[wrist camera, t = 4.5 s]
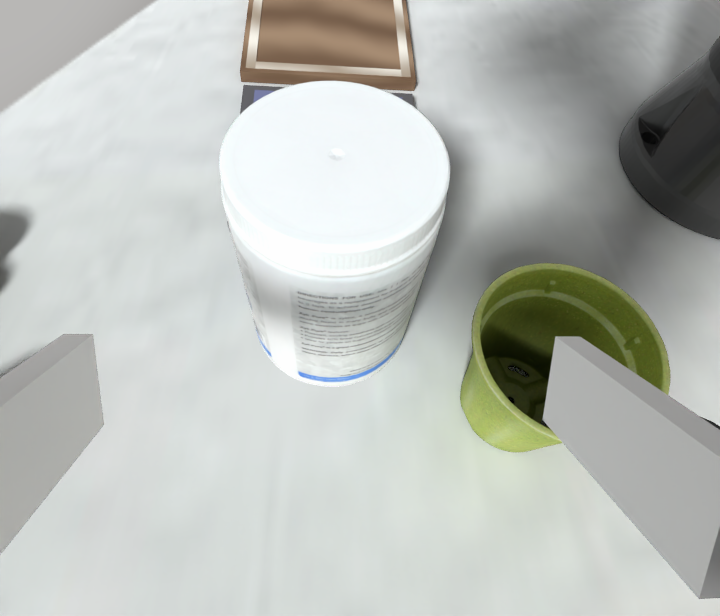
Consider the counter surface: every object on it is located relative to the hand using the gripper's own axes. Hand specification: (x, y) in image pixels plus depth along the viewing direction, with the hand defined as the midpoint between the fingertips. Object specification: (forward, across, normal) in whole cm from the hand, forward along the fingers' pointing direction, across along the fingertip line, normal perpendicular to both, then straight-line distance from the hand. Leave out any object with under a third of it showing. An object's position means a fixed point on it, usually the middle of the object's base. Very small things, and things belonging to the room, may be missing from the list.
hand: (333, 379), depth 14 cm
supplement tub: (+18, 0, -4) cm, 19 cm away
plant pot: (+14, +12, -8) cm, 20 cm away
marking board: (+39, +1, +18) cm, 43 cm away
